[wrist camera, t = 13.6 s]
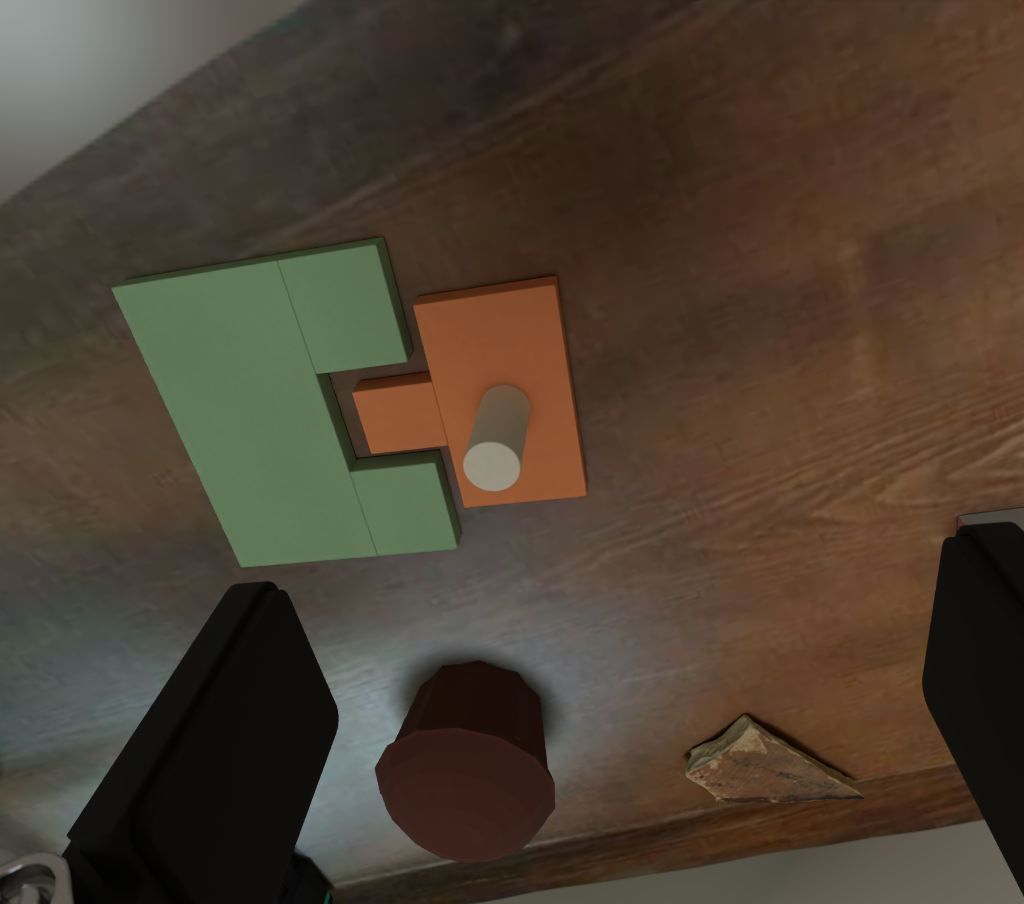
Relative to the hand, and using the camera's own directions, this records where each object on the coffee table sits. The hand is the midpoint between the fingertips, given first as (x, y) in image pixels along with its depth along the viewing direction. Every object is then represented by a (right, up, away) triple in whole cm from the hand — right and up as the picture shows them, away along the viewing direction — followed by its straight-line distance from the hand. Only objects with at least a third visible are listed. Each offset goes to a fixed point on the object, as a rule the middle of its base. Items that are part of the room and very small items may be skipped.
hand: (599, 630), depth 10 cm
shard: (+17, -18, +40) cm, 47 cm away
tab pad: (-4, +6, +28) cm, 29 cm away
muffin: (-4, -15, +40) cm, 43 cm away
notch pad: (-13, +5, +29) cm, 32 cm away
